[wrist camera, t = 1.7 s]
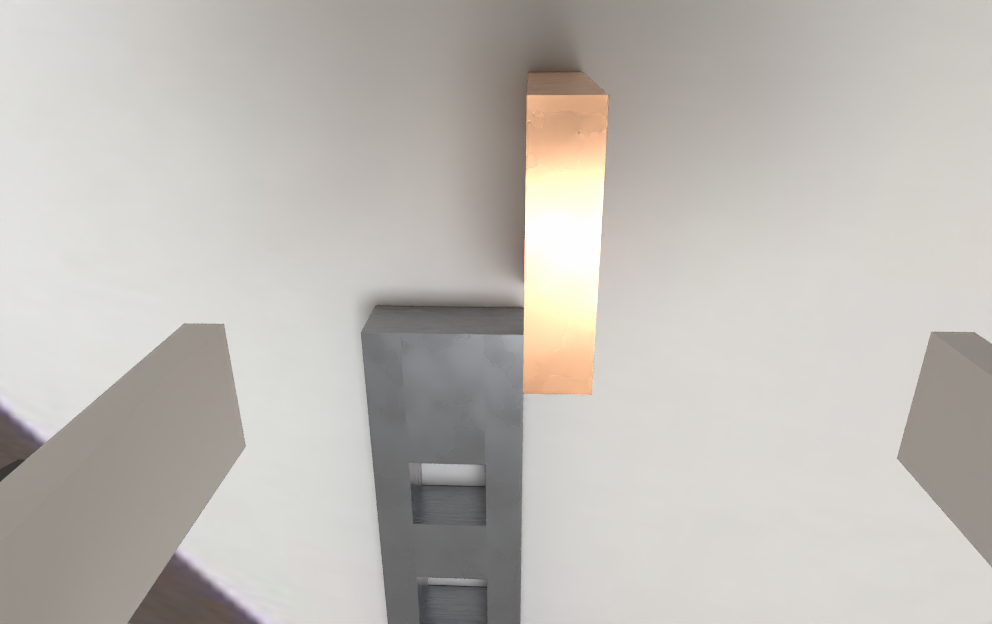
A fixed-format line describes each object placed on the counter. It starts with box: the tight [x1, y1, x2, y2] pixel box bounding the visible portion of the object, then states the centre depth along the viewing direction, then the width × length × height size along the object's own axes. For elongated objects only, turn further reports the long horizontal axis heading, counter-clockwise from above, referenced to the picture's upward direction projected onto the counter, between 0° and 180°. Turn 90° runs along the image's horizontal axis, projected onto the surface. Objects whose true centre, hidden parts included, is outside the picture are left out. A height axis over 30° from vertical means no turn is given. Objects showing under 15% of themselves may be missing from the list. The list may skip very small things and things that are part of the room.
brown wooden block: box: [523, 72, 609, 395], centre depth 24 cm, size 9×2×10 cm, turn 0°
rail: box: [361, 306, 524, 624], centre depth 35 cm, size 24×7×3 cm, turn 0°
